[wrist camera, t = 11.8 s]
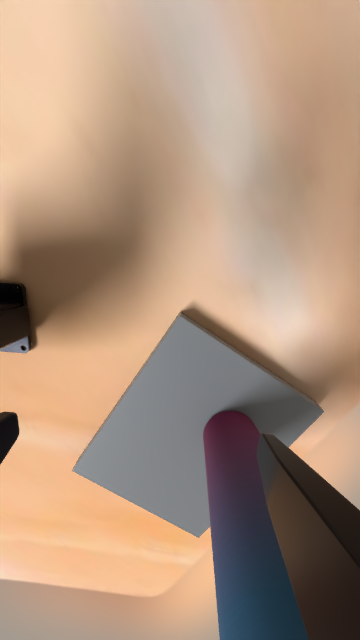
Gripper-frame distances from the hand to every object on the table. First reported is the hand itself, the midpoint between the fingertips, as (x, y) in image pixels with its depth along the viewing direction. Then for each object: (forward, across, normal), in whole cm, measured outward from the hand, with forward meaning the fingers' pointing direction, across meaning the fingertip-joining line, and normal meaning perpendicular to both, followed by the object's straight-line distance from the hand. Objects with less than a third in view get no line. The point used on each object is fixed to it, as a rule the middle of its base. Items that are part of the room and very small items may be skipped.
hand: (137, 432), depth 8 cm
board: (+13, -3, +11) cm, 17 cm away
